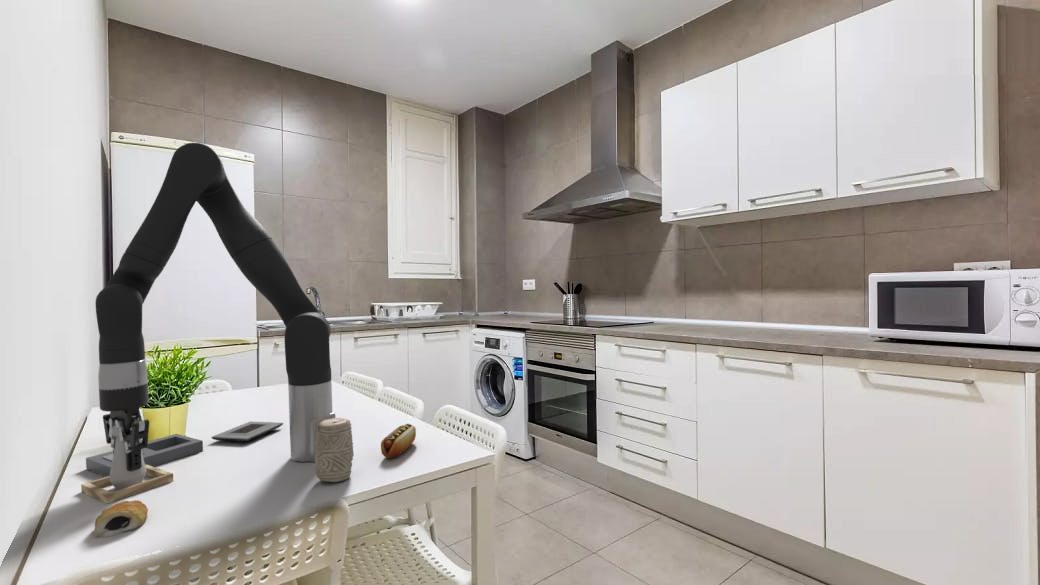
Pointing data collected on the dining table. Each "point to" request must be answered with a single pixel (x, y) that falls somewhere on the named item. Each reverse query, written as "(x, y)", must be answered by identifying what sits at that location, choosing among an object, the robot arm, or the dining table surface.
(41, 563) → the dining table surface
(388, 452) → the hot dog
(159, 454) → the grey rectangular frame
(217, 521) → the dining table surface
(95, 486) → the wooden square frame
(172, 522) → the dining table surface
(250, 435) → the electrical outlet
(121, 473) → the salt shaker
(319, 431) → the carving
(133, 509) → the pastry
